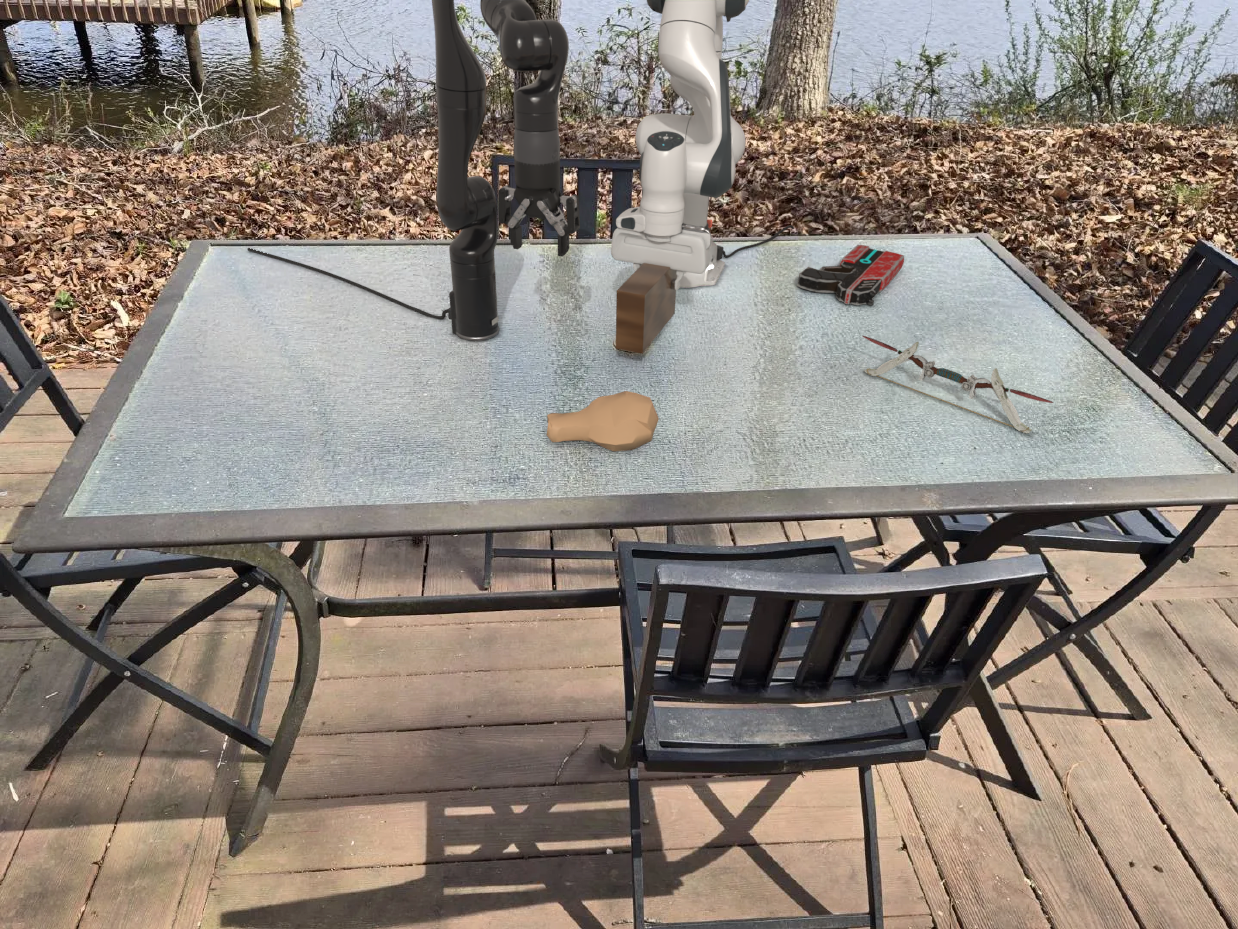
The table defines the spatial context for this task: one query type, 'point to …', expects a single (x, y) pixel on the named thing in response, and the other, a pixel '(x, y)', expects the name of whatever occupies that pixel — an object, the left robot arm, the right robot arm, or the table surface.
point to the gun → (854, 275)
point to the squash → (608, 422)
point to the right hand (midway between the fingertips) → (658, 285)
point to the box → (644, 306)
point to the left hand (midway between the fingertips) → (539, 251)
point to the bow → (967, 384)
